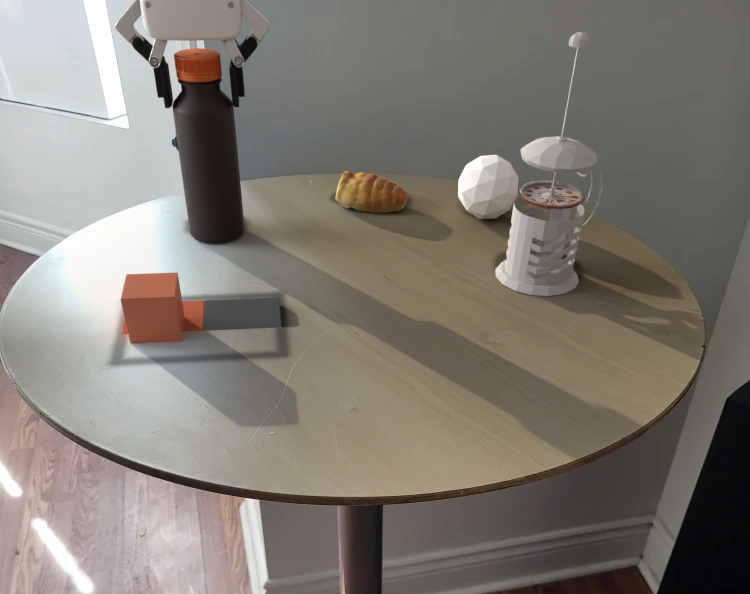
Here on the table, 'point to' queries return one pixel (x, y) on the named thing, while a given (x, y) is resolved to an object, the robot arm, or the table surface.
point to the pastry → (369, 193)
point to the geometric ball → (488, 186)
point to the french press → (531, 258)
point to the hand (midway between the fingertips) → (202, 102)
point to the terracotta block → (153, 307)
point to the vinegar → (207, 148)
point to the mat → (230, 314)
